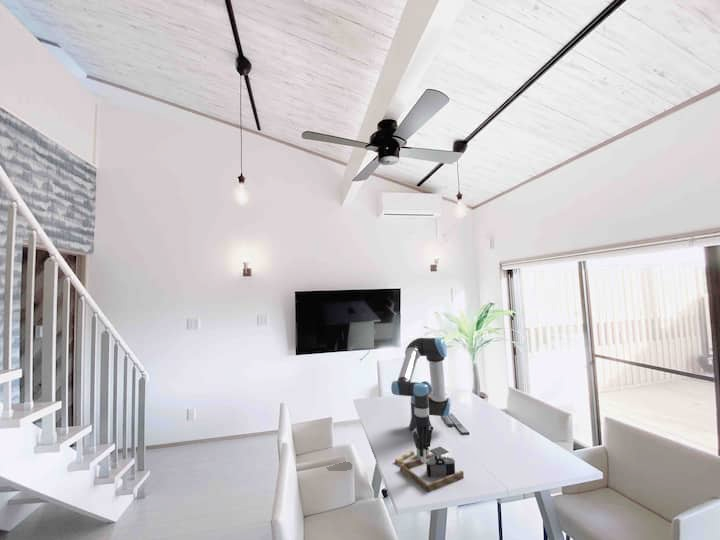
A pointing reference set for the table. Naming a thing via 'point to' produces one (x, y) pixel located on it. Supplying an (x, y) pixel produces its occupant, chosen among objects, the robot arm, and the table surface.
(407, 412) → the table surface
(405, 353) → the robot arm
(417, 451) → the sage cube
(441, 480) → the brown wooden u frame
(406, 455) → the crook
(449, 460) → the camera
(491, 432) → the table surface
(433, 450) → the pad
